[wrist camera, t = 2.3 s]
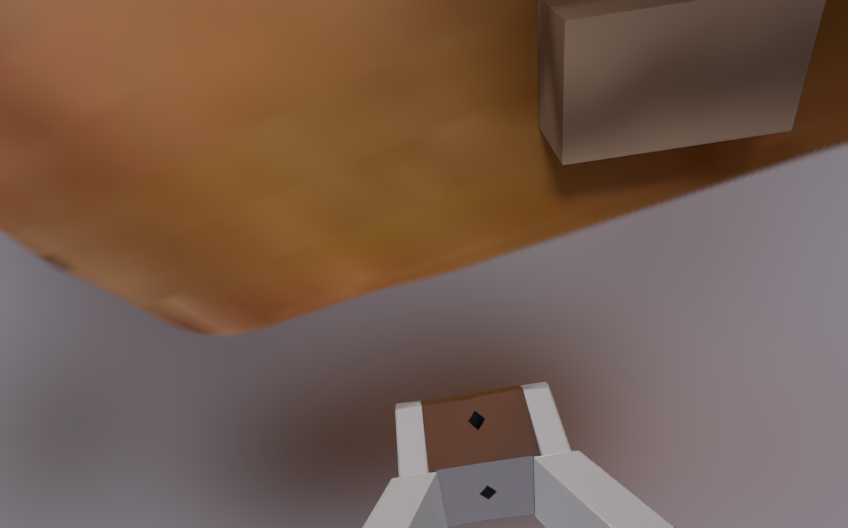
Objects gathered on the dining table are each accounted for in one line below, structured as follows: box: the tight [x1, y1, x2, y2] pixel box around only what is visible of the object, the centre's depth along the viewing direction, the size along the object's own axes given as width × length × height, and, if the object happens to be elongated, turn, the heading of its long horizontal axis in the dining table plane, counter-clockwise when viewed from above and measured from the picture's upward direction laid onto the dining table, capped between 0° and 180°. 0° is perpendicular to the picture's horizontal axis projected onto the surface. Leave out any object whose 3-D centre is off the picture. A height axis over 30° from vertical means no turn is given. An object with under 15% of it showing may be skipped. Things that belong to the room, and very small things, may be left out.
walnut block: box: [537, 0, 826, 165], centre depth 25 cm, size 6×10×4 cm, turn 97°
